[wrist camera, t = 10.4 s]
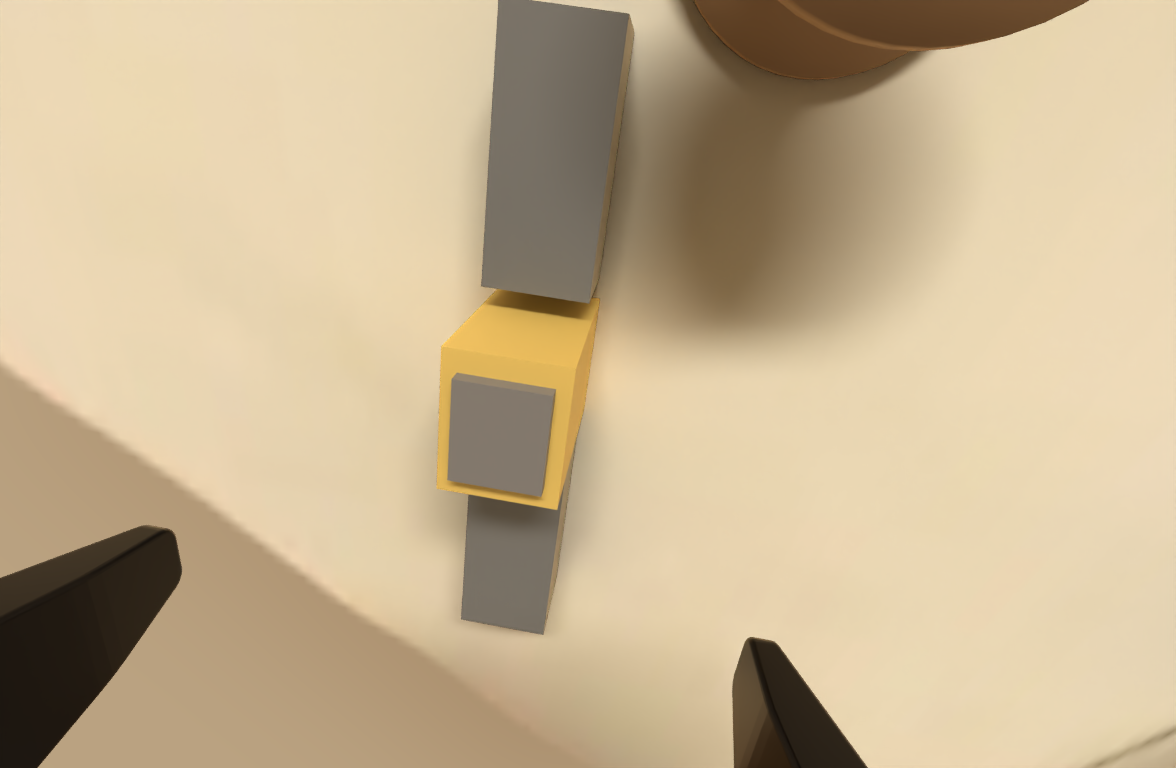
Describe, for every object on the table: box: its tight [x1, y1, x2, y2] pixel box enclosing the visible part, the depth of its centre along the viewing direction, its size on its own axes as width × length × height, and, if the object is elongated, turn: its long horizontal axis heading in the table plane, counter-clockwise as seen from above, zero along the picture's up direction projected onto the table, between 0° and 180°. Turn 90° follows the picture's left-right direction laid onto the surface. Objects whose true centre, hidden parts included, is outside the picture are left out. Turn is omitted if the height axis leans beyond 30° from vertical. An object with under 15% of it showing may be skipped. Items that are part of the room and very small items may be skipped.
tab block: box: [437, 289, 600, 510], centre depth 17 cm, size 4×3×6 cm
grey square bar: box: [461, 0, 634, 635], centre depth 19 cm, size 19×3×3 cm, turn 172°
